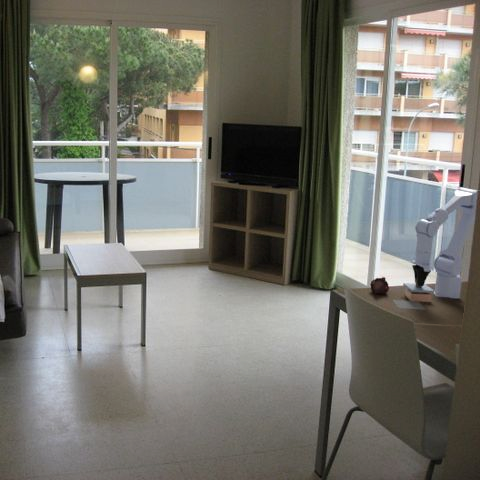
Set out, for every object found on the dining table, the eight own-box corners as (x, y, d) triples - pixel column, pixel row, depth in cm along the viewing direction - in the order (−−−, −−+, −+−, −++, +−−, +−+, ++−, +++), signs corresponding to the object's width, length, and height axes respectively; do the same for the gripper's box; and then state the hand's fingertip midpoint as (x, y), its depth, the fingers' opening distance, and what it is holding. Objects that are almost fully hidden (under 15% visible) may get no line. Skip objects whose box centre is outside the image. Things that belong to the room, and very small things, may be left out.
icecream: (389, 285, 262) (394, 279, 276) (371, 277, 264) (376, 272, 278) (382, 301, 263) (387, 294, 277) (364, 293, 265) (370, 287, 279)
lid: (424, 285, 271) (426, 275, 270) (434, 292, 263) (435, 281, 262) (403, 285, 270) (404, 274, 269) (411, 291, 261) (413, 281, 260)
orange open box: (424, 297, 271) (425, 288, 271) (430, 303, 264) (431, 294, 263) (404, 296, 271) (405, 287, 270) (410, 302, 263) (411, 293, 263)
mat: (417, 302, 263) (417, 301, 263) (425, 311, 254) (425, 309, 254) (392, 301, 263) (392, 299, 263) (398, 309, 253) (398, 308, 253)
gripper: (408, 245, 270) (404, 279, 273) (418, 254, 256) (414, 289, 259) (425, 246, 270) (421, 280, 273) (437, 255, 256) (432, 290, 259)
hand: (419, 284), depth 266 cm, fingers closed on lid, 2 cm apart
